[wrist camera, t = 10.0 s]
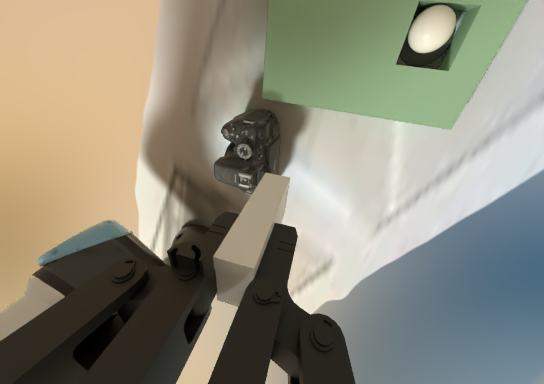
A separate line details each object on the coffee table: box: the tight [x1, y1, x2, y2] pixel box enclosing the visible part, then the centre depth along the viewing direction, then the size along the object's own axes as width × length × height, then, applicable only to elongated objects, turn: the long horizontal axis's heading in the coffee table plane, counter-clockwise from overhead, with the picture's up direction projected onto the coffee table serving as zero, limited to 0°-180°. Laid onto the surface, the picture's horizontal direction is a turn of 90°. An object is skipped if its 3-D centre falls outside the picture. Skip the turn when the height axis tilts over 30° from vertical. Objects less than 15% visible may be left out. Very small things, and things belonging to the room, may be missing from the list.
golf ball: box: [408, 5, 456, 53], centre depth 22 cm, size 4×4×4 cm
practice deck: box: [262, 0, 527, 130], centre depth 24 cm, size 24×17×3 cm
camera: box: [214, 110, 280, 195], centre depth 33 cm, size 13×10×10 cm
